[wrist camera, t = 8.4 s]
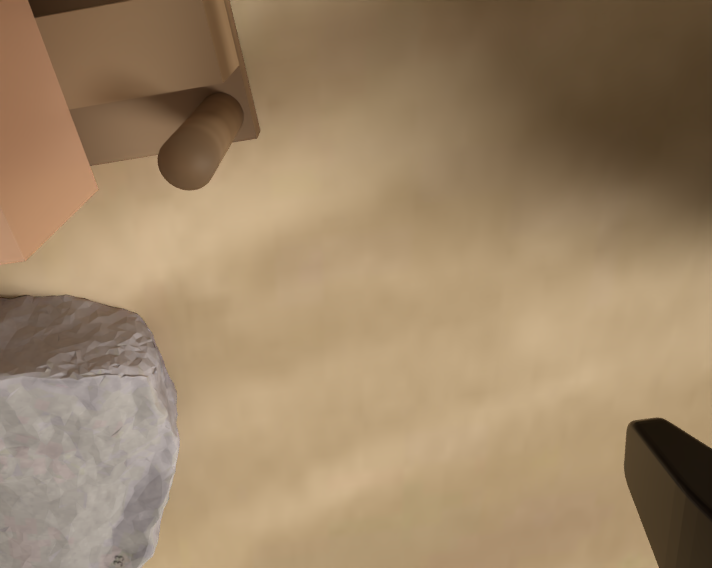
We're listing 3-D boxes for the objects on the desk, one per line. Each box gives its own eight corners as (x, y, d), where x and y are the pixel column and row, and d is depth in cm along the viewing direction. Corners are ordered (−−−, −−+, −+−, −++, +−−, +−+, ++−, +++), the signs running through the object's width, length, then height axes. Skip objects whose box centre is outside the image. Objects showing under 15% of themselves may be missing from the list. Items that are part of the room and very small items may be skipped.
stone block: (179, 274, 22) (-138, 274, 20) (175, 355, 18) (-222, 368, 16) (185, 493, 28) (-58, 514, 26) (182, 589, 24) (-105, 625, 22)
